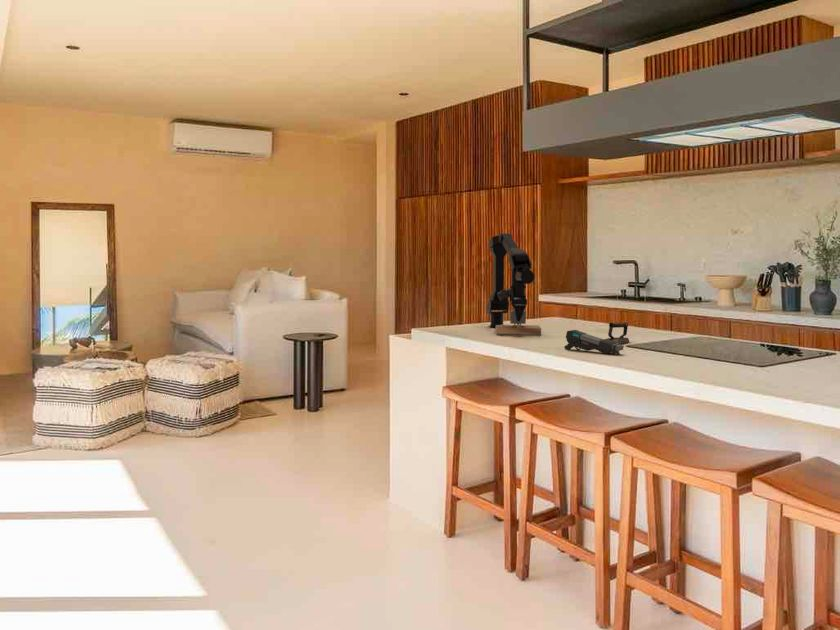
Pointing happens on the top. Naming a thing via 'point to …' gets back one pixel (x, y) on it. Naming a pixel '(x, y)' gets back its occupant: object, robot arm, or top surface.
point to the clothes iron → (621, 339)
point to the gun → (591, 343)
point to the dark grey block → (514, 320)
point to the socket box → (518, 330)
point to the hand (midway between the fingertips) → (517, 320)
